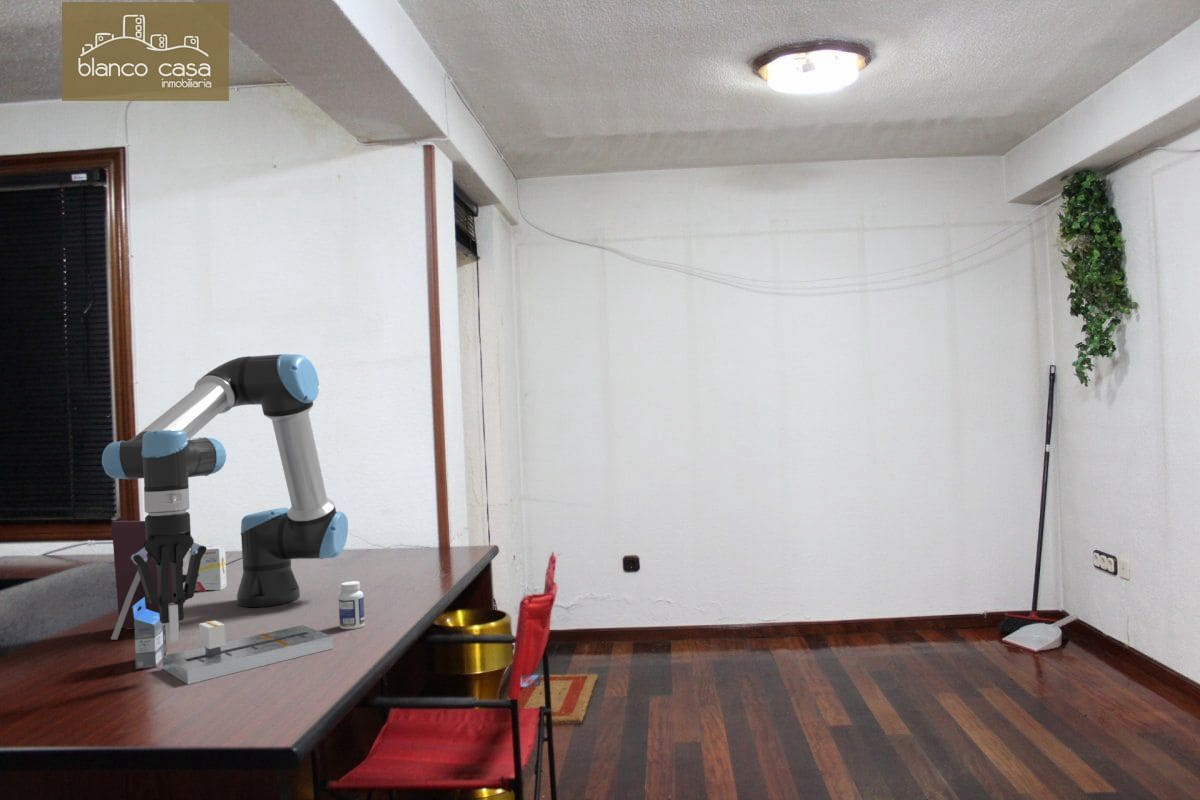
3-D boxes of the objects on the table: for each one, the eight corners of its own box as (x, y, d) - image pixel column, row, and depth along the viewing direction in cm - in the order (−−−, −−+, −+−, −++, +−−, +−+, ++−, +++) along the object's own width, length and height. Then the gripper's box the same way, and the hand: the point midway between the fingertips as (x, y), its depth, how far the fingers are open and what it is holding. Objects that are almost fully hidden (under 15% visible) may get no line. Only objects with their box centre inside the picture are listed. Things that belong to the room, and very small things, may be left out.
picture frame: (179, 630, 196) (174, 520, 196) (144, 642, 186) (138, 527, 186) (123, 627, 201) (118, 520, 201) (86, 639, 192) (81, 526, 192)
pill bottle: (357, 622, 196) (355, 579, 196) (369, 625, 192) (367, 582, 192) (335, 627, 193) (333, 583, 193) (347, 631, 189) (345, 586, 189)
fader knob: (201, 665, 167) (199, 622, 167) (217, 661, 169) (215, 619, 169) (210, 670, 163) (208, 627, 163) (226, 666, 165) (224, 623, 165)
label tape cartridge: (157, 667, 168) (154, 604, 168) (134, 670, 167) (131, 606, 167) (167, 655, 176) (164, 594, 176) (146, 657, 175) (143, 596, 175)
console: (163, 669, 166) (162, 655, 166) (302, 636, 186) (302, 624, 186) (187, 684, 156) (187, 669, 156) (333, 648, 176) (332, 635, 176)
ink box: (189, 592, 238) (187, 549, 238) (195, 588, 243) (193, 546, 243) (221, 590, 239) (219, 547, 239) (227, 586, 243) (225, 544, 243)
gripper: (135, 518, 154) (140, 650, 154) (210, 509, 163) (215, 635, 163) (123, 515, 159) (128, 643, 159) (197, 507, 168) (201, 628, 168)
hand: (172, 639), depth 161 cm, fingers closed
